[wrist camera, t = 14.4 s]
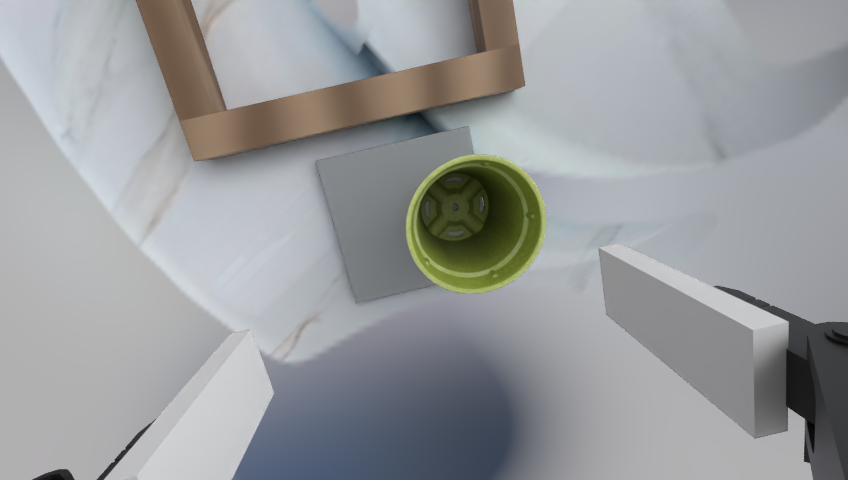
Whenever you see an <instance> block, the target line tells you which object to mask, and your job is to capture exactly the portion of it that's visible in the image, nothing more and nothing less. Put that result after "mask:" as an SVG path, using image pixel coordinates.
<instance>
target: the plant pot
mask: <svg viewBox="0 0 848 480" xmlns="http://www.w3.org/2000/svg"><path fill="white" fill-rule="evenodd" d="M452 177H459V178H461V181H460V182H458V181H451V182H445V181H446V179H449V178H452ZM480 196H481V197H482V198H483V201H484V210H483V211H482V212H480V198H479V197H480ZM428 201H429V202H430V205H429V206H430V207H429V210H430V217H428V216H427V213H426V208H425V206H426V202H428ZM454 204H457V205H458V209H457V210H453V205H454ZM458 231H464V233H463V234H462V235H459V236H451V235H449V234H448V232H458ZM545 232H546V209H545V205H544V201H543V198H542V196H541V194H540V191H539V189H538V187H537V186H536V184H535V183H534V181H533V180H532V179H531V178H530V176H529V175H528V174H527V173H526V172H525V171H524V170H522V169H521V168H520V167H519V166H517V165H516V164H514V163H513V162H511V161H509V160H506V159H504V158H501V157H497V156H493V155H485V154H475V155H467V156H462V157H459V158H456V159H453V160H451V161H448V162H446V163H445V164H443V165H441V166H440V167H438V168H437V169H435V170H434V171H433V172H432V173H430V174H429V175H428V176H427V177H426V178H425V179H424V180H423V182H422V183H421V184H420V185H419V187H418V188H417V190H416V192H415V193H414V195H413V197H412V199H411V202H410V205H409V208H408V212H407V216H406V239H407V244H408V248H409V251H410V253H411V256H412V258H413V260H414V262H415V264H416V265H417V267H418V268H419V269H420V270H421V271H422V273H423V274H424V275H425V276H426V277H427V278H429V279H430V280H431V281H432V282H434V283H435V284H437V285H439V286H440V287H442V288H444V289H447V290H450V291H453V292H457V293H463V294H479V293H485V292H490V291H493V290H497V289H499V288H501V287H504V286H505V285H507V284H509V283H511V282H512V281H514V280H515V279H517V278H518V277H519V276H520V275H521V274H522V273H523V272H525V271H526V270H527V269H528V268H529V267H530V265H531V264H532V263H533V261H534V260H535V258H536V257H537V255H538V253H539V251H540V248H541V246H542V243H543V240H544V237H545Z"/></svg>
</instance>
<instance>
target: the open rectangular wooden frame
mask: <svg viewBox="0 0 848 480" xmlns="http://www.w3.org/2000/svg"><path fill="white" fill-rule="evenodd" d="M136 2H137V5H138V8H139V10H140V13H141V16H142V19H143V21H144V24H145V27H146V30H147V32H148V35H149V38H150V41H151V44H152V46H153V49H154V52H155V55H156V57H157V60H158V63H159V66H160V68H161V71H162V74H163V77H164V79H165V82H166V85H167V88H168V90H169V93H170V96H171V99H172V102H173V104H174V107H175V110H176V113H177V115H178V118H179V121H180V124H181V126H182V129H183V132H184V135H185V137H186V140H187V143H188V146H189V149H190V151H191V154H192V157H193V160H194V161H201V160H211V159H216V158H220V157H225V156H229V155H233V154H238V153H242V152H246V151H251V150H255V149H260V148H264V147H268V146H273V145H277V144H281V143H286V142H290V141H295V140H299V139H303V138H308V137H312V136H317V135H321V134H325V133H330V132H334V131H338V130H343V129H347V128H352V127H356V126H360V125H365V124H369V123H373V122H378V121H382V120H387V119H391V118H395V117H400V116H404V115H408V114H413V113H417V112H422V111H426V110H430V109H435V108H439V107H443V106H448V105H452V104H457V103H461V102H465V101H470V100H474V99H478V98H483V97H487V96H492V95H496V94H500V93H505V92H509V91H513V90H516V89H518V88H521V87H523V86H525V81H524V74H523V67H522V61H521V54H520V47H519V40H518V33H517V27H516V20H515V13H514V6H513V0H469V6H470V11H471V17H472V23H473V29H474V35H475V40H476V46H477V52H478V54H473V55H469V56H464V57H460V58H456V59H451V60H447V61H442V62H438V63H434V64H429V65H425V66H420V67H416V68H412V69H407V70H403V71H398V72H394V73H390V74H385V75H381V76H376V77H372V78H368V79H363V80H359V81H354V82H350V83H346V84H341V85H337V86H332V87H328V88H324V89H319V90H315V91H310V92H306V93H302V94H297V95H293V96H288V97H284V98H280V99H275V100H271V101H266V102H262V103H257V104H253V105H249V106H244V107H240V108H235V109H231V110H227V109H226V106H225V103H224V100H223V97H222V94H221V91H220V88H219V85H218V82H217V79H216V76H215V73H214V70H213V67H212V64H211V61H210V58H209V55H208V52H207V49H206V45H205V42H204V39H203V36H202V33H201V30H200V27H199V24H198V21H197V18H196V15H195V12H194V9H193V6H192V3H191V0H136Z"/></svg>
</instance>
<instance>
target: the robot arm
mask: <svg viewBox="0 0 848 480" xmlns="http://www.w3.org/2000/svg"><path fill="white" fill-rule="evenodd" d="M599 256H600V265H601V274H602V282H603V291H604V299H605V307H606V315H607V316H608V317H610V318H611V319H612V320H613V321H615V322H616V323H617V324H618V325H619V326H621V327H622V328H623V329H624V330H625V331H626V332H628V333H629V334H630V335H631V336H632V337H634V338H635V339H636V340H637V341H638V342H640V343H641V344H642V345H643V346H645V347H646V348H647V349H648V350H649V351H650V352H652V353H653V354H654V355H655V356H656V357H658V358H659V359H660V360H661V361H662V362H664V363H665V364H666V365H667V366H668V367H670V368H671V369H672V370H673V371H674V372H676V373H677V374H678V375H679V376H680V377H682V378H683V379H684V380H685V381H686V382H688V383H689V384H690V385H691V386H692V387H694V388H695V389H696V390H697V391H698V392H700V393H701V394H702V395H703V396H704V397H706V398H707V399H708V400H709V401H710V402H712V403H713V404H714V405H715V406H716V407H718V408H719V409H720V410H721V411H722V412H723V413H725V414H726V415H727V416H728V417H730V418H731V419H732V420H733V421H734V422H735V423H737V424H738V425H739V426H740V427H741V428H743V429H744V430H745V431H746V432H747V433H749V434H750V435H751V436H752V437H753V438H760V437H764V436H768V435H772V434H776V433H780V432H785V431H787V430H788V407H789V408H790V409H791V410H793V411H794V412H796V413H798V414H799V415H800V416H802V417H803V418H805V446H804V462H808V463H810V464H811V470H812V475H813V480H848V323H847V322H826V323H820V324H813V323H811V322H809V321H807V320H804V319H802V318H800V317H798V316H795V315H793V314H791V313H789V312H786V311H784V310H782V309H779V308H777V307H775V306H770V305H769V304H768V303H766V302H764V301H761V300H756V299H755V298H754V297H752V296H750V295H747V294H745V293H743V292H741V291H739V290H734V289H730V288H725V287H720V286H710V285H708V284H706V283H704V282H702V281H700V280H698V279H695V278H693V277H691V276H689V275H687V274H685V273H682V272H680V271H678V270H676V269H674V268H672V267H670V266H667V265H665V264H663V263H661V262H659V261H657V260H654V259H652V258H650V257H648V256H646V255H644V254H641V253H639V252H637V251H635V250H633V249H631V248H629V247H626V246H624V245H622V244H620V243H616V244H612V245H608V246H603V247H599ZM273 394H274V391H273V388H272V385H271V383H270V380H269V377H268V374H267V372H266V369H265V366H264V363H263V361H262V358H261V355H260V353H259V350H258V347H257V344H256V342H255V339H254V336H253V333H252V331H251V329H248V330H244V331H240V332H235V333H231V334H230V335H229V336H228V337H227V338H226V339H225V341H224V342H223V343H222V344H221V345H220V346H219V348H218V349H217V350H216V351H215V352H214V353H213V354H212V356H211V357H210V358H209V359H208V360H207V361H206V362H205V364H204V365H203V366H202V367H201V368H200V369H199V371H198V372H197V373H196V374H195V375H194V376H193V378H192V379H191V380H190V381H189V382H188V383H187V384H186V385H185V387H184V388H183V389H182V390H181V391H180V392H179V394H178V395H177V396H176V397H175V398H174V399H173V401H172V402H171V403H170V404H169V405H168V406H167V408H166V409H165V410H164V411H163V412H162V413H161V414H160V416H159V417H158V418H157V419H155V420H154V421H153V422H152V423H150V424H149V425H148V426H146V427H145V428H144V429H143V430H142V431H140V432H139V433H138V434H137V435H136V436H135V437H134V438H133V440H132V441H131V442H130V443H129V444H128V445H127V447H126V450H123V451H122V452H121V453H120V454H119V456H117V458H116V459H115V462H113V463H111V464H110V465H109V467H108V468H107V469H106V470H105V471H104V472H103V473H102V475H101V476H100V477H99V478H98V479H97V480H232V478H233V476H234V473H235V472H236V469H237V468H238V465H239V464H240V461H241V459H242V457H243V455H244V453H245V451H246V449H247V447H248V445H249V443H250V441H251V439H252V437H253V435H254V433H255V431H256V429H257V427H258V425H259V423H260V421H261V419H262V417H263V415H264V413H265V410H266V408H267V406H268V404H269V402H270V400H271V398H272V396H273ZM33 480H74V478H73V476H72V474H71V473H70V472H69V471H68V470H66V469H59V470H55V471H52V472H49V473H46V474H43V475H41V476H39V477H37V478H35V479H33Z"/></svg>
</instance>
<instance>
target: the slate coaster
mask: <svg viewBox="0 0 848 480" xmlns="http://www.w3.org/2000/svg"><path fill="white" fill-rule="evenodd" d="M467 155H474V152H473V146H472V141H471V136H470V130H469V126H466V127H462V128H457V129H453V130H449V131H444V132H440V133H435V134H431V135H427V136H422V137H418V138H414V139H409V140H405V141H401V142H396V143H392V144H387V145H383V146H379V147H374V148H370V149H366V150H361V151H357V152H353V153H348V154H344V155H339V156H335V157H331V158H326V159H322V160H318V161H316V164H317V168H318V171H319V175H320V178H321V182H322V185H323V189H324V192H325V196H326V199H327V203H328V206H329V210H330V213H331V217H332V220H333V224H334V227H335V231H336V234H337V238H338V241H339V245H340V248H341V252H342V255H343V259H344V262H345V266H346V269H347V273H348V276H349V280H350V283H351V287H352V290H353V294H354V297H355V301H356V303H360V302H365V301H369V300H373V299H377V298H382V297H386V296H390V295H394V294H399V293H403V292H407V291H412V290H416V289H420V288H424V287H429V286H433V285H437V284H435V283H434V282H432V281H431V280H430V279H429V278H427V277H426V276H425V275H424V274H423V273H422V271H421V270H420V269H419V268H418V267H417V265H416V264H415V262H414V260H413V258H412V256H411V253H410V251H409V248H408V244H407V239H406V216H407V212H408V208H409V205H410V202H411V199H412V197H413V195H414V193H415V192H416V190H417V188H418V187H419V185H420V184H421V183H422V182H423V180H424V179H425V178H426V177H427V176H428V175H429V174H430V173H432V172H433V171H434V170H435V169H437V168H438V167H440V166H441V165H443V164H445V163H446V162H448V161H451V160H453V159H456V158H459V157H462V156H467ZM451 181H458V182H460V181H461V178H459V177H452V178H449V179H446V181H445V182H451ZM479 198H480V212H482V211H483V210H484V206H483V200H482V197H481V196H480V197H479ZM429 205H430V202H429V201H428V202H426V206H425V208H426V213H427V216H428V217H430V210H429V207H430V206H429ZM457 209H458V205H457V204H454V205H453V210H457ZM463 233H464V231H458V232H448V234H449V235H451V236H459V235H462V234H463Z"/></svg>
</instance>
